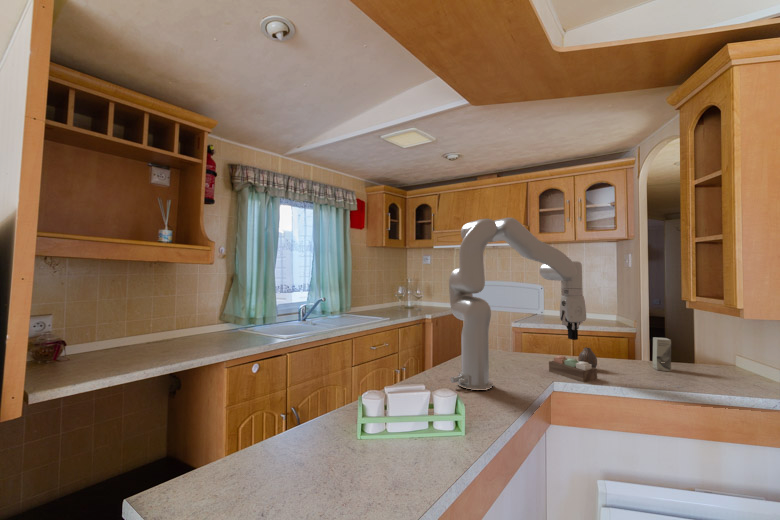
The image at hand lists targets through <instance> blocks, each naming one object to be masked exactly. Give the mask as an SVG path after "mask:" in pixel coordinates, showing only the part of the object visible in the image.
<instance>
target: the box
mask: <svg viewBox="0 0 780 520" xmlns="http://www.w3.org/2000/svg"><path fill="white" fill-rule="evenodd" d="M661 362H665V363H661ZM652 368H654V370H656V371H663V372H671V371H672V339H669V338H667V337H656V336H655V337H652Z"/></svg>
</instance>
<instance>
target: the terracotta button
mask: <svg viewBox="0 0 780 520" xmlns="http://www.w3.org/2000/svg"><path fill="white" fill-rule="evenodd" d="M567 359H569V358H568V357H566V356H564V355H556V356H554V357H553V361H554V362H557V363H561V364H565V360H567Z"/></svg>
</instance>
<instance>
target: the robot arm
mask: <svg viewBox="0 0 780 520" xmlns="http://www.w3.org/2000/svg"><path fill="white" fill-rule="evenodd" d="M460 237H461V239H462V241H461V243H460V246H459V251H458V260H459V261H458V262H459V264H458V265H459V267H457V268H455V269H453V270H452V272H451V273H450V275H449V278H448V291H449V305H450V310H451V313H452V315H453V316H454V317H455V318H456V319H458V320H460V321H463V326H462V328H461V329H462V330H461V336H460V337H461V371H460V372H458V375H457V376H450V382H451V383H452V384H453V383H458V384H459V385H461V386H463V387H466V388H471V389H486V388H490V387H492V386H493V387H494V382H493V381H492V380H490V378H489V377H490V376H489V375H490V371H489V369H490V366H489V362H490V361H489V359H490V358H489V355H490V354H489V353H490V352H489V351H490V350H489V349H490V348H489V347H490V345H489V341H490V340H489V336H490V335H489V334H490V333H489V332H490V323H491V317H492V309H491V306H490V304H489V303H488V302H487V301H486V300H485V299H483V298H481V297H476V296H473V294H479V293H481V292H482V291H483V290H484V288H485V283H486V278H485V277H486V276H485V265H484V253H485V252H484V251H485V249H486V248H487V245H488V244H489V243H494V242H502V241H503V242H506V244H508V246H510V247H511V248H513V249H514V251H515V252H517V253H518V254H519V255H520V256H521V257H522V258H525V259H527V260H531V261H534V262H538V263H540V264H541V265H540V267H539V274H540V276H541V278H543V279H544V280H548V281H555V282H556V281H558V282H559V281H560V291H561V293H560V294H561V295H560V302H559V320H560V321H561V322H562V323H561V324H562V326H565V327H566V329H567V339H568V340H572V341H577V340H579V329H580V325H581V324H583V322H585V321H586V320H587V308H586V307H587V306H586V302H585V301H586V300H585V298H584V294H583V293H584V291H583V264H582V263H581V262H580V261H575V260H574V261H573V260H571V259H570V257H568V255H566V254H565V253H564V252H562V251H561V250H559V249H558V248H556V247H553V246H552V245H550V244H548V243H546V242H544V241H542V240H540V239H538V238H537V237H536V236H535V235H534V234H533V233H532V232H531V231H529V230H528V229H527V228H526V226H524V225H523V223H521V222H520V221H519V220H518V219H516V218H514V217H504V218H499V219H495V220H493V219H491V218H480V219H476V220H472V221H470V222H467V223H465V224H463V226H462V227H461V229H460ZM458 384H457V385H458Z"/></svg>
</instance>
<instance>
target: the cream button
mask: <svg viewBox="0 0 780 520" xmlns="http://www.w3.org/2000/svg"><path fill="white" fill-rule="evenodd" d="M576 368H578V369H582V370H590V369H592V365H591V364H589V363H588V362H583V361H580V362H579V363H576Z"/></svg>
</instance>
